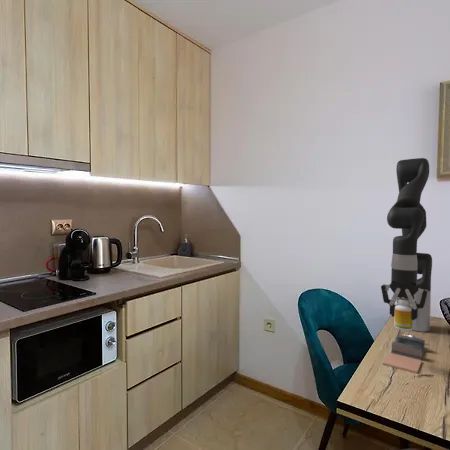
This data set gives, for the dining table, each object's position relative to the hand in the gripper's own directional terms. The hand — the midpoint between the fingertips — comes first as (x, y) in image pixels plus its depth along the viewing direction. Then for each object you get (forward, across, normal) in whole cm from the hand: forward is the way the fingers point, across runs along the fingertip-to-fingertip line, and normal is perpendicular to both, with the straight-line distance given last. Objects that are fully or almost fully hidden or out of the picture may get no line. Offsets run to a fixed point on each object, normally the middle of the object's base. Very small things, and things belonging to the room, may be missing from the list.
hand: (403, 317), depth 108 cm
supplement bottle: (+4, 0, 0) cm, 4 cm away
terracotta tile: (+15, 0, 0) cm, 15 cm away
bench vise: (+15, 0, -15) cm, 22 cm away
